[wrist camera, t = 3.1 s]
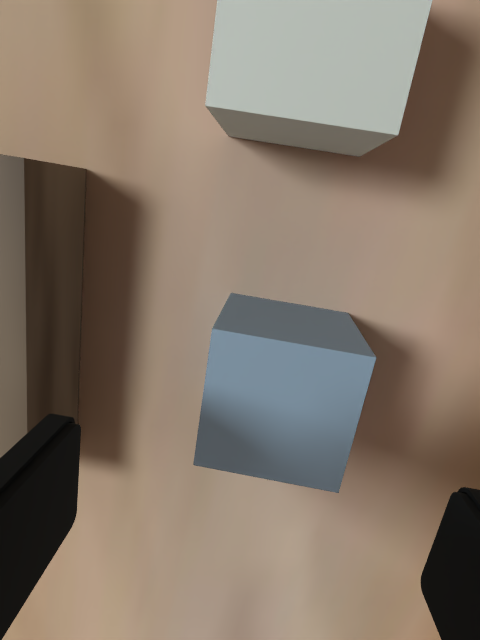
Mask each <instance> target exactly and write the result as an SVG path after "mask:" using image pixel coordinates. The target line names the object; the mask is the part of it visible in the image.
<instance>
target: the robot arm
mask: <svg viewBox="0 0 480 640" xmlns="http://www.w3.org/2000/svg"><path fill="white" fill-rule="evenodd" d="M80 437H81V427H80V425H79V424H75V420H74V418H73V417H69V416H63V415H58V414H48V415H47V416H46V417H44V418H43V419H42V420H41V421H40V422H39V423H38V424H37V425H36V426H35V427H34V428H32V429H31V430H30V431H29V432H28V433H27V434H26V435H25V436H24V437H23V438H22V439H21V440H19V441H18V442H17V443H16V444H15V445H14V446H13V447H12V448H11V449H10V450H9V451H7V452H6V453H5V454H4V455H3V456H2V457H1V458H0V640H2V638H3V637H4V635H5V633H6V632H7V630H8V629H9V627H10V625H11V624H12V622H13V621H14V619H15V617H16V616H17V614H18V613H19V611H20V609H21V608H22V606H23V605H24V603H25V601H26V600H27V598H28V596H29V595H30V593H31V592H32V590H33V588H34V587H35V585H36V584H37V582H38V580H39V579H40V577H41V576H42V574H43V572H44V571H45V569H46V568H47V566H48V564H49V563H50V561H51V560H52V558H53V556H54V555H55V553H56V552H57V550H58V548H59V547H60V545H61V544H62V542H63V540H64V539H65V537H66V536H67V534H68V532H69V531H70V529H71V527H72V525H73V523H74V520H75V517H76V513H77V496H78V476H79V456H80ZM421 589H422V592H423V595H424V598H425V600H426V603H427V605H428V608H429V610H430V613H431V615H432V617H433V620H434V622H435V625H436V627H437V630H438V632H439V635H440V637H441V640H480V490H477V489H471V488H466V487H463V488H460V489H459V490H458V492H454V493H452V495H451V496H450V499H449V502H448V504H447V507H446V510H445V513H444V515H443V518H442V521H441V523H440V526H439V529H438V532H437V534H436V537H435V540H434V543H433V545H432V548H431V551H430V553H429V556H428V559H427V562H426V564H425V567H424V570H423V572H422V576H421Z"/></svg>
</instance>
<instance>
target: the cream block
mask: <svg viewBox="0 0 480 640" xmlns="http://www.w3.org/2000/svg"><path fill="white" fill-rule="evenodd" d="M431 4H432V0H217V8H216V17H215V26H214V35H213V43H212V52H211V61H210V70H209V78H208V87H207V96H206V104H205V106H206V107H207V109H208V110H209V111H210V113H211V114H212V115H213V116H214V118H215V119H216V120H217V122H218V123H219V124H220V126H221V127H222V128H223V130H224V131H225V132H226V134H227V135H228V136H230V137H236V138H243V139H249V140H255V141H262V142H268V143H274V144H281V145H287V146H294V147H300V148H306V149H313V150H319V151H326V152H332V153H338V154H345V155H351V156H358V157H360V156H362V155H364V154H366V153H367V152H369V151H371V150H373V149H374V148H376V147H378V146H380V145H382V144H383V143H385V142H387V141H389V140H390V139H392V138H394V137H396V136H398V134H399V130H400V126H401V122H402V118H403V114H404V110H405V106H406V102H407V98H408V94H409V90H410V86H411V82H412V79H413V75H414V71H415V67H416V63H417V59H418V55H419V51H420V47H421V43H422V39H423V35H424V31H425V27H426V23H427V19H428V15H429V12H430V8H431Z"/></svg>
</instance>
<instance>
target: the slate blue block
mask: <svg viewBox="0 0 480 640" xmlns="http://www.w3.org/2000/svg"><path fill="white" fill-rule="evenodd" d="M375 360H376V356H375V355H374V353H373V352H372V350H371V348H370V347H369V345H368V344H367V342H366V340H365V339H364V337H363V336H362V334H361V332H360V331H359V329H358V328H357V326H356V325H355V323H354V321H353V320H352V318H351V317H350V315H349V313H346V312H340V311H334V310H328V309H322V308H316V307H311V306H305V305H299V304H293V303H287V302H281V301H276V300H270V299H264V298H258V297H252V296H246V295H240V294H235V293H231V294H230V296H229V298H228V300H227V301H226V303H225V305H224V307H223V309H222V311H221V313H220V315H219V317H218V319H217V321H216V322H215V324H214V326H213V328H212V334H211V341H210V348H209V356H208V363H207V370H206V377H205V384H204V392H203V399H202V406H201V413H200V421H199V428H198V435H197V442H196V450H195V457H194V464H193V465H196V466H201V467H207V468H212V469H217V470H222V471H227V472H232V473H238V474H243V475H248V476H253V477H258V478H264V479H269V480H274V481H279V482H284V483H289V484H295V485H300V486H305V487H310V488H315V489H321V490H326V491H331V492H336V493H339V489H340V486H341V482H342V478H343V475H344V471H345V468H346V464H347V461H348V457H349V453H350V450H351V446H352V443H353V439H354V436H355V432H356V428H357V425H358V421H359V418H360V414H361V411H362V407H363V403H364V400H365V396H366V393H367V389H368V386H369V382H370V378H371V375H372V371H373V368H374V364H375Z"/></svg>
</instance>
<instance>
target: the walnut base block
mask: <svg viewBox="0 0 480 640" xmlns="http://www.w3.org/2000/svg"><path fill="white" fill-rule="evenodd" d="M85 187H86V169H83V168H77V167H71V166H66V165H60V164H54V163H49V162H43V161H37V160H31V159H26V158H20V157H13V156H7V155H1V154H0V458H1V457H2V456H3V455H4V454H5V453H6V452H7V451H9V450H10V449H11V448H12V447H13V446H14V445H15V444H16V443H17V442H18V441H19V440H21V439H22V438H23V437H24V436H25V435H26V434H27V433H28V432H29V431H30V430H31V429H32V428H34V427H35V426H36V425H37V424H38V423H39V422H40V421H41V420H42V419H43V418H44V417H46V416H47V415H48V414H58V415H63V416H69V417H73V418H74V420H75V424H78V396H79V366H80V336H81V307H82V277H83V247H84V217H85Z"/></svg>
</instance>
